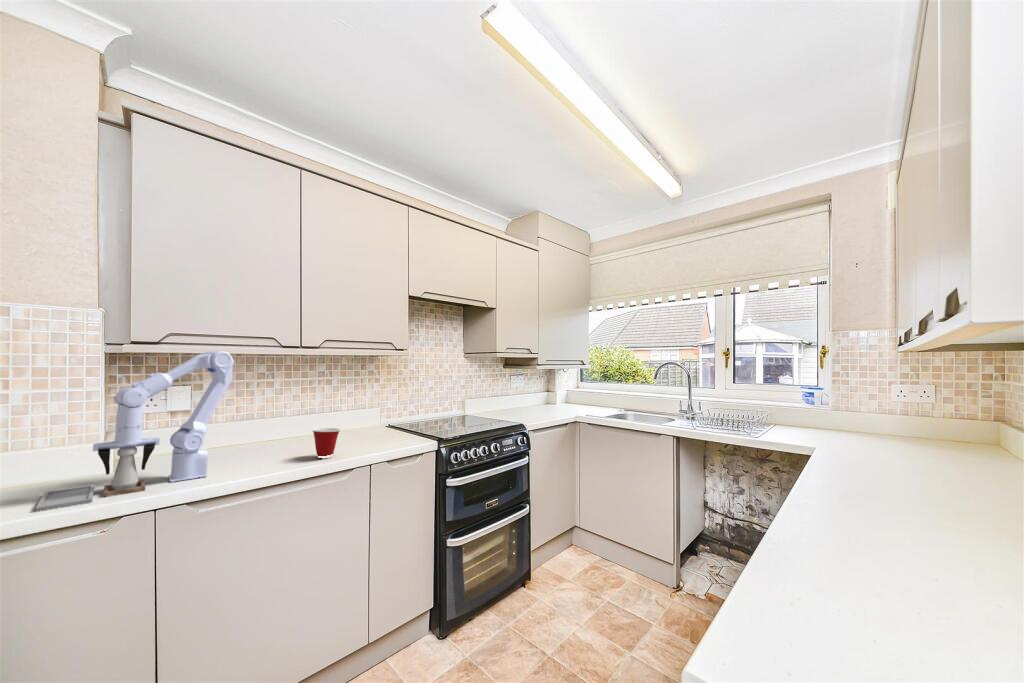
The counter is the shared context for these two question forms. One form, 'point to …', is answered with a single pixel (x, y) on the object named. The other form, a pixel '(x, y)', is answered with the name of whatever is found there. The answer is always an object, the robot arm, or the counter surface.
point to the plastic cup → (325, 440)
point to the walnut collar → (124, 489)
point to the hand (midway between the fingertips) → (125, 471)
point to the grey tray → (66, 497)
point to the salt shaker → (125, 469)
